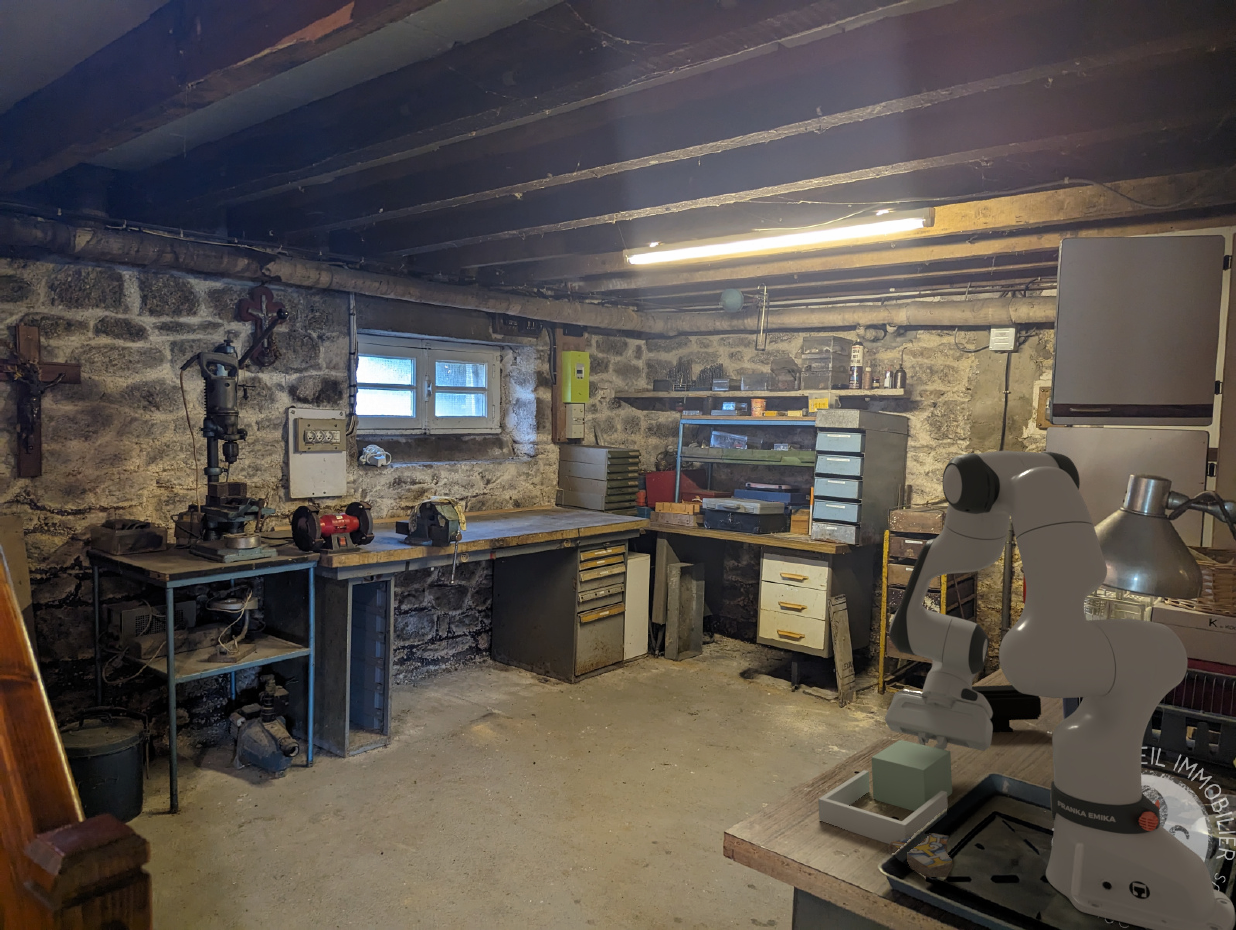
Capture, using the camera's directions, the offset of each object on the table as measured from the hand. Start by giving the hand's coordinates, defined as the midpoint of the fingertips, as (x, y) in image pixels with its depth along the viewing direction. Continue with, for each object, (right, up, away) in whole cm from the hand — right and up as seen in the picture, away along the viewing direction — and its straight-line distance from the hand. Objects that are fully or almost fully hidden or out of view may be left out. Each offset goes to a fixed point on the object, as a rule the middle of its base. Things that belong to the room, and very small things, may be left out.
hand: (927, 758), depth 151 cm
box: (-13, -6, -13) cm, 19 cm away
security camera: (+28, -5, +28) cm, 40 cm away
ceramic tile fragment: (-13, -6, -30) cm, 33 cm away
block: (-5, -5, -5) cm, 8 cm away
